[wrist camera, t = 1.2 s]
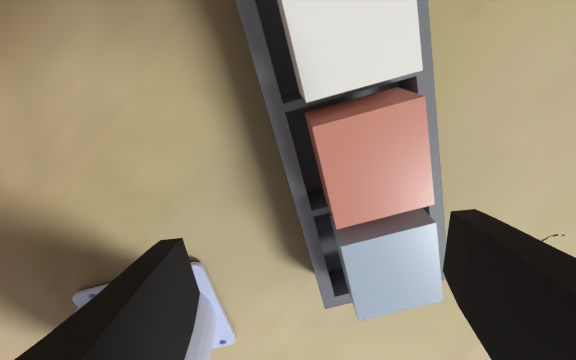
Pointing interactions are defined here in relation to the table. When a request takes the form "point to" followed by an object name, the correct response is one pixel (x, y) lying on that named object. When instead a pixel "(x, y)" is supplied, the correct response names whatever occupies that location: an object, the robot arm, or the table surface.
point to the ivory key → (350, 43)
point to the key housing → (297, 143)
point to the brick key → (373, 155)
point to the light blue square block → (391, 263)
